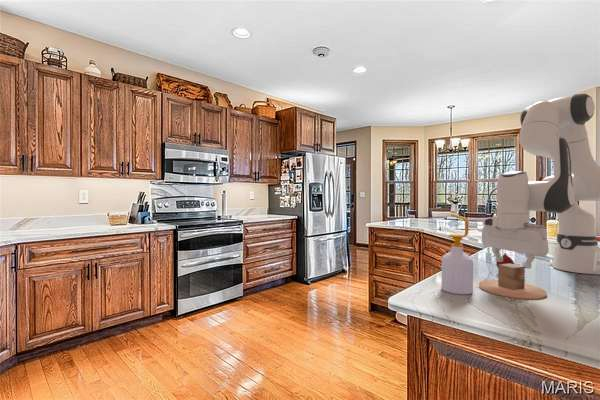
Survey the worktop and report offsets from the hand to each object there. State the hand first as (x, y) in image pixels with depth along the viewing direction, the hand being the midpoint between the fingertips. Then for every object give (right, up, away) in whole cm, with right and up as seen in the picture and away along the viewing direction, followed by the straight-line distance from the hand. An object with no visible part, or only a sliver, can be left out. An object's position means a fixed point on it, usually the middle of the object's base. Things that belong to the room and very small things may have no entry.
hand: (512, 264), depth 102 cm
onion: (+11, -8, +20) cm, 25 cm away
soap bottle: (-18, -8, 0) cm, 20 cm away
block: (0, -7, 0) cm, 7 cm away
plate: (0, -8, 0) cm, 8 cm away
